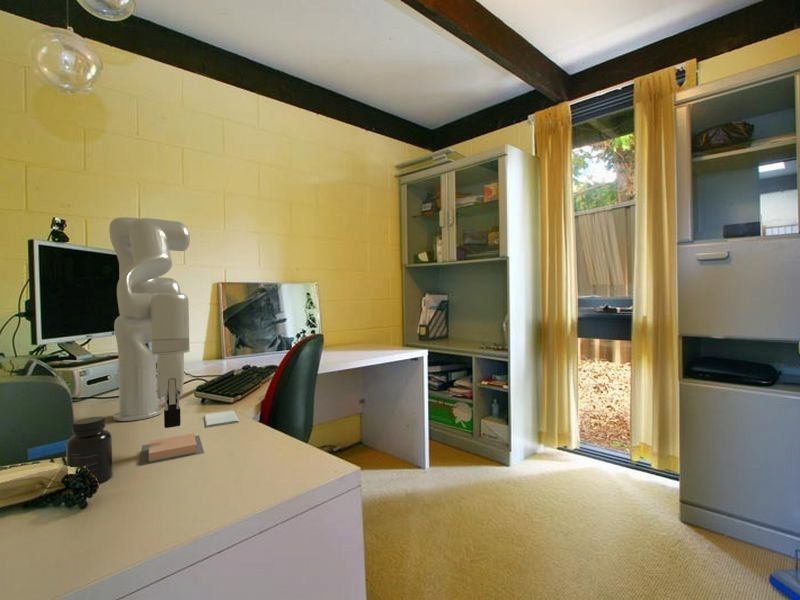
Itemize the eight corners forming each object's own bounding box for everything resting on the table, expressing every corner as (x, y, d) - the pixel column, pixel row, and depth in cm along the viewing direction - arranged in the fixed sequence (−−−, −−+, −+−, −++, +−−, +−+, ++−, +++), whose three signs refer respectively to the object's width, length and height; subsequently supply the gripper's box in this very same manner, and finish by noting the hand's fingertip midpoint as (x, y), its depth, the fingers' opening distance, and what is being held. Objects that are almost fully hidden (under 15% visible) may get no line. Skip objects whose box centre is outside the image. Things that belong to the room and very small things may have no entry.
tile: (149, 440, 90) (148, 453, 82) (193, 433, 95) (196, 444, 87) (149, 449, 90) (148, 462, 82) (194, 441, 95) (196, 453, 87)
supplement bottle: (74, 479, 76) (73, 417, 76) (117, 472, 79) (116, 412, 79) (60, 494, 70) (59, 427, 70) (107, 486, 72) (105, 422, 73)
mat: (142, 446, 93) (142, 445, 93) (199, 436, 99) (199, 435, 99) (139, 467, 81) (139, 465, 81) (204, 454, 87) (204, 452, 87)
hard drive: (238, 420, 109) (233, 409, 120) (206, 425, 105) (203, 413, 116) (238, 426, 109) (233, 415, 120) (206, 431, 105) (203, 419, 116)
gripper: (152, 345, 94) (153, 421, 94) (150, 350, 82) (152, 438, 82) (187, 342, 98) (188, 415, 98) (191, 348, 86) (193, 431, 85)
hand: (172, 426), depth 90 cm, fingers closed
